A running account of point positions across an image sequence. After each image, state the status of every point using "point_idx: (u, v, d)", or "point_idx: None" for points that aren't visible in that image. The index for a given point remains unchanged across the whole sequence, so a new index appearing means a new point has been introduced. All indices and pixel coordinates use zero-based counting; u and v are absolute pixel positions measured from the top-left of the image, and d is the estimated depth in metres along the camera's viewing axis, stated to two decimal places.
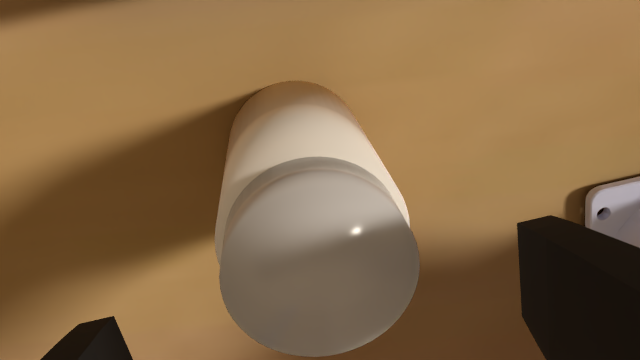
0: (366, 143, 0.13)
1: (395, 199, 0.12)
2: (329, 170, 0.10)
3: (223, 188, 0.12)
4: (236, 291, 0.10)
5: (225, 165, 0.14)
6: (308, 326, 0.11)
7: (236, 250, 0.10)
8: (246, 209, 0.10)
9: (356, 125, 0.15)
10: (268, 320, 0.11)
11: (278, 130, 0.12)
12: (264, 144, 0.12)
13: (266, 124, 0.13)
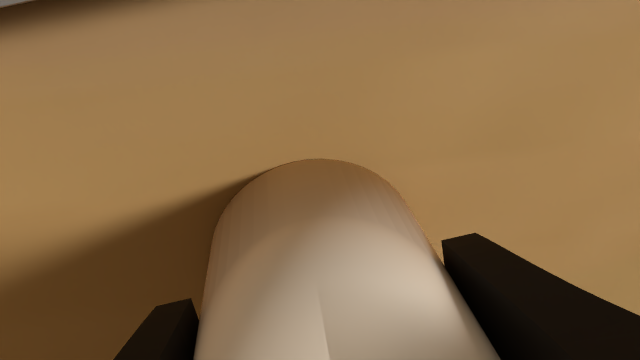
0: (476, 333, 0.06)
1: None
2: None
3: None
4: None
5: (196, 342, 0.08)
6: None
7: None
8: None
9: (437, 264, 0.08)
10: None
11: (301, 324, 0.06)
12: None
13: (273, 289, 0.07)
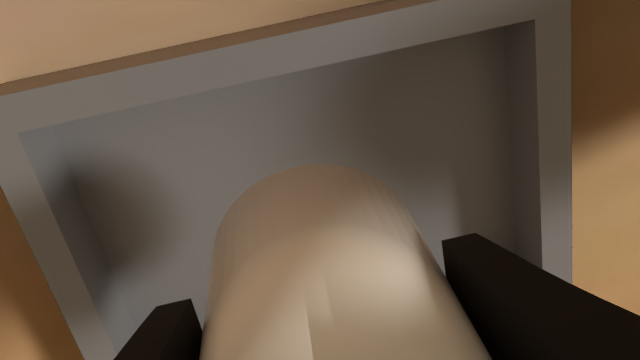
0: (480, 350, 0.07)
1: None
2: None
3: None
4: None
5: (202, 345, 0.08)
6: None
7: None
8: None
9: (441, 277, 0.08)
10: None
11: (313, 339, 0.06)
12: None
13: (285, 300, 0.07)
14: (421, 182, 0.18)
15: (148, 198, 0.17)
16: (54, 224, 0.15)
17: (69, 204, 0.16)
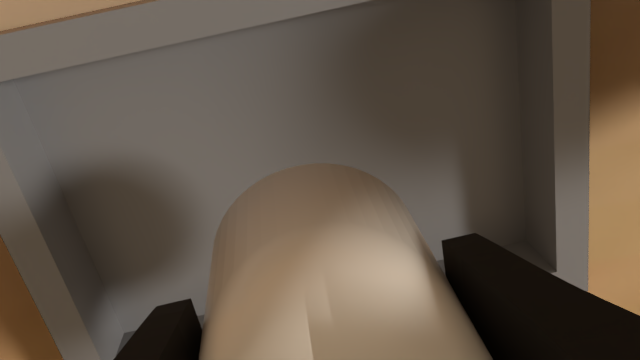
0: (480, 349, 0.07)
1: None
2: None
3: None
4: None
5: (202, 344, 0.08)
6: None
7: None
8: None
9: (441, 276, 0.08)
10: None
11: (313, 337, 0.06)
12: None
13: (284, 299, 0.07)
14: (424, 151, 0.16)
15: (125, 168, 0.16)
16: (18, 192, 0.13)
17: (37, 172, 0.14)
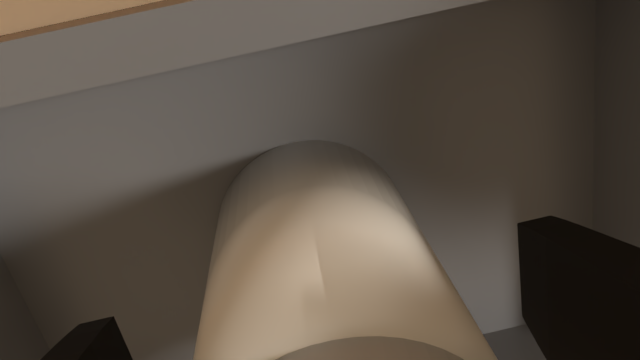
0: (442, 275, 0.08)
1: None
2: None
3: (198, 355, 0.07)
4: None
5: (207, 283, 0.09)
6: None
7: None
8: None
9: (415, 227, 0.09)
10: None
11: (299, 256, 0.07)
12: (275, 288, 0.07)
13: (277, 234, 0.08)
14: (469, 204, 0.13)
15: (86, 230, 0.12)
16: None
17: None
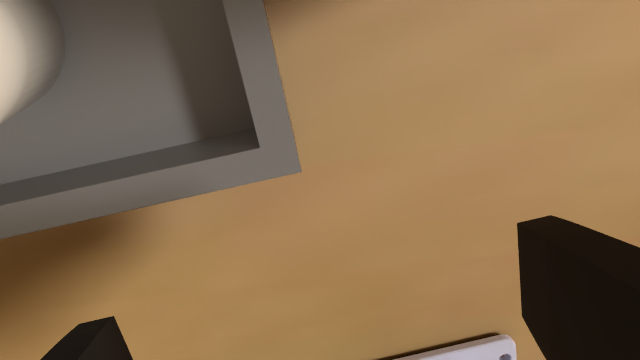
0: None
1: None
2: None
3: None
4: None
5: None
6: None
7: None
8: None
9: None
10: None
11: None
12: None
13: None
14: (120, 19, 0.15)
15: None
16: None
17: None
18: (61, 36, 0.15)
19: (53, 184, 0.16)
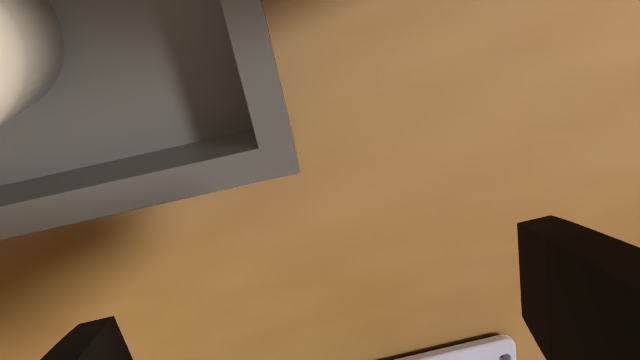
0: None
1: None
2: None
3: None
4: None
5: None
6: None
7: None
8: None
9: None
10: None
11: None
12: None
13: None
14: (119, 21, 0.15)
15: None
16: None
17: None
18: (60, 38, 0.15)
19: (52, 185, 0.16)
